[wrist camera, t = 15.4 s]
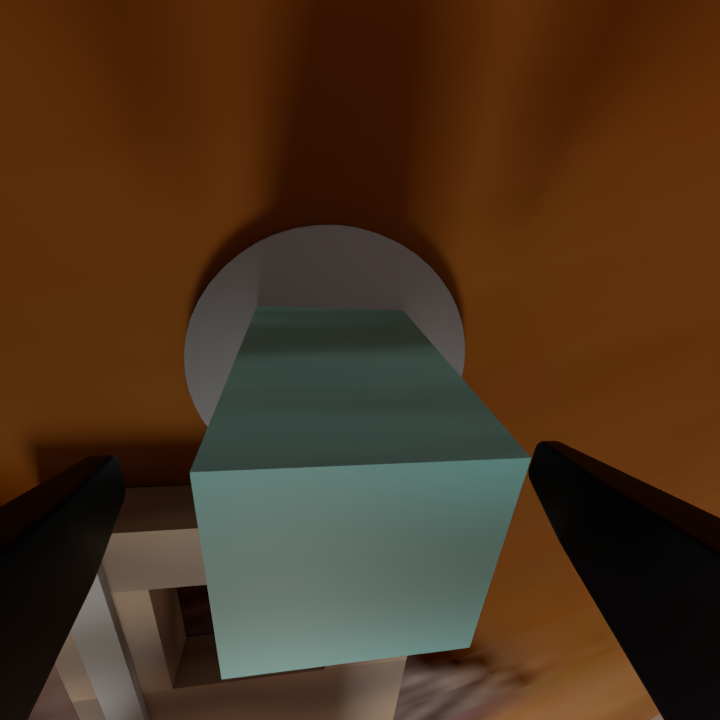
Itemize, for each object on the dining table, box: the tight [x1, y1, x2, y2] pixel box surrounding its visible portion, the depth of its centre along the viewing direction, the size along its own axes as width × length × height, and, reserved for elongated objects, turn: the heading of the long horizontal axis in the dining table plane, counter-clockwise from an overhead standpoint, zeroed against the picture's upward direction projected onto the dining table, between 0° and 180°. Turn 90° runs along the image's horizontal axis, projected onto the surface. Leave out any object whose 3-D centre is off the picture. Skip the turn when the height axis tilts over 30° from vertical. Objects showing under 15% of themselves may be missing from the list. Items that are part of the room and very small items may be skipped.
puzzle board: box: [55, 485, 407, 720], centre depth 18 cm, size 24×14×2 cm, turn 176°
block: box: [190, 306, 531, 679], centre depth 9 cm, size 4×4×7 cm
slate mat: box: [184, 225, 465, 427], centre depth 12 cm, size 9×9×1 cm
